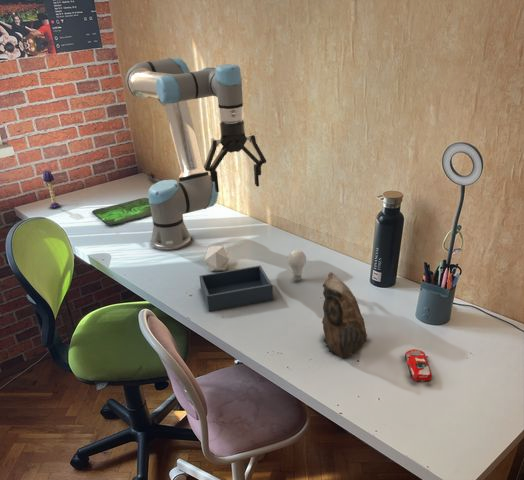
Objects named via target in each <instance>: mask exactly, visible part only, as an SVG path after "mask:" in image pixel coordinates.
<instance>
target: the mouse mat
mask: <svg viewBox="0 0 524 480" xmlns="http://www.w3.org/2000/svg"><path fill="white" fill-rule="evenodd" d="M91 214H92V215H94V216H95V217H96V218H98V219H99V220H100V221H101V222H102V223H104V224H105V225H106V226H116V225H119V224H123V223H128V222H131V221H134V220H135V221H136V220H139V219H142V218H145V217H146V218H147V217H150V216H152V214H151V208H150V203H149V197H148V198H147V197H142V198H137V199H133V200H130V201H126V202H121V203H118V204H113V205H110V206H106V207H105V206H104V207H100V208H96V209H93V210H92V211H91Z"/></svg>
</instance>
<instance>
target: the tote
mask: <svg viewBox="0 0 524 480" xmlns="http://www.w3.org/2000/svg"><path fill="white" fill-rule="evenodd" d="M198 277H199V284H200V292H201V294H202V296H203V299H204V301H205V304H206V307H207V310H208V312H215V311H218V310H224V309H225V310H226V309H230V308H235V307H241V306H246V305H253V304H258V303H263V302H268V301H273V300H274V293H273V284H272V281H271V280H270V278H269V277H268V276H267V273H266V272H265V270H264V269H263V267H262V266H261V265H255V266H248V267H243V268H237V269H231V270H230V269H229V270H225V271H217V272H214V273H206V274H202V275H199V276H198Z"/></svg>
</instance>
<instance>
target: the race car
mask: <svg viewBox="0 0 524 480" xmlns="http://www.w3.org/2000/svg"><path fill="white" fill-rule="evenodd" d="M404 353H405V354H404V360H405V362H406V366H407V369H408V372H409V377H410V379H411V380H412V382H413V383H417V384H419V383H421V384H424V383H425V384H426V383H427V384H428V383H431V381H432V377H433V374H432V373H433V372H432V369H431V367H430V364H429V361H428V358H429V356H428V355H427V356H426V353H425V351H423V350H421V349H416V348H413V349H409V350H407V351H406V352H404Z"/></svg>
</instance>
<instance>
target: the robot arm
mask: <svg viewBox="0 0 524 480" xmlns="http://www.w3.org/2000/svg"><path fill="white" fill-rule="evenodd" d="M125 86H126V88H127V91H128V92H129V93H130V94H131V95H132V96H134V97H136V98H138V99H139V98H140V99H148V98H156V99H158V103H159V104H161V105H162V106H163V107H164V111H165V113H166V114H165V115H166V117H167V122H168V126H169V130H170V134H171V138H172V143H173V145H174V149H175V153H176V158H177V161H178V165H179V169H180V174H179V176H178V181H177V180H176V179H164V180H160V181H158V182H157V181H156V180H155V179H154V178H153V177H152V176H153V175H152V172H149V179H150V180H151V181H152V182H153V184H152V185H151V186H150V187H149V189H148V191H147V194H148V199H149V203H150V208H151V214H152V215H151V218H152V225H153V226H152V232H151V239H150V241H151V246H152V247H153V248H154V249H156V250H159V251H175V250H180V249H183V248H184V247H186V246H188V245H189V244H190V243H191V241H192V239H191V234H190V232H189V230H188V228H187V226H186V224H185V221H184V215H185V214H189V213H193V212H197V211H202V210H206V209H208V208H211V207H214V206H215V205H216V204H217V202H218V198H219V192H220V189H219V187H220V186H219V177H218V171H217V168H218V167H219V165H220V164H221V162H222V161H223V160H224V158H225V156H226V155H227V154H228V153H230V154H231V153H235V152H236V153H239V152H241V151H243V152H244V153H245V154H246V155H247V156H248V157H249V158H250V159H251V160H252V161H253V162H254V163H255V164H253V177H254V185H255V186H256V187H260V176H261V175H262V165H263V164H266V163H267V159H266V158H265V156H264V154H263V152H262V151H261V148H260V146H259V145H258V143H257V140H256V135H254V134H253V133H250V134H249V135H246V131H245V129H246V127H245V120H244V119H245V115H244V102H243V101H244V100H243V99H244V97H243V78H242V73H241V67H240V66H239V65H237V64H232V63H230V64H221V65H217V66H216V67H211V66H210V67H204V68H202V69H201V70H197V71H191V70H190V68H189V66H188V65H187V63H186V61H184V60H183V59H182V58H180V57H168V58H167V57H166V58H162V59H155V60H149V61H142V62H137V63H136V64H134V65H132V67H130V68H129V69H128V71H127V73H126V75H125ZM209 97H217V105H218V117H219V121H220V122H219V128H220V139H219V138H218V139H217V138H216V139H215V138H214V137H212V138H211V139H210V140H211V141H210V142H211V144H210V148H209V151H208V154H207V157H206V159H205V162H204V165H203V161H202V157H201V153H200V149H199V145H198V140H197V136H196V132H195V128H194V124H193V120H192V116H191V112H190V107H189V103H188V101H190V100H197V99H204V98H209ZM247 141H248V142H249V143H251V145H252V147H253V149H254V150H255V153H256V154H257V156H258V158H259V159H258V158H257V157H256V156H255V155H254V154H253V153H252V152H251V151H250V150H249V149H248V148H247V147H246V146H245V144H246V143H247ZM220 144H221V146H222V147H221V149H220V150H219V152H218V154H217V155H216V157H215V153H216V151H217V148H218V147H219V145H220ZM214 157H215V159H214Z"/></svg>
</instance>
